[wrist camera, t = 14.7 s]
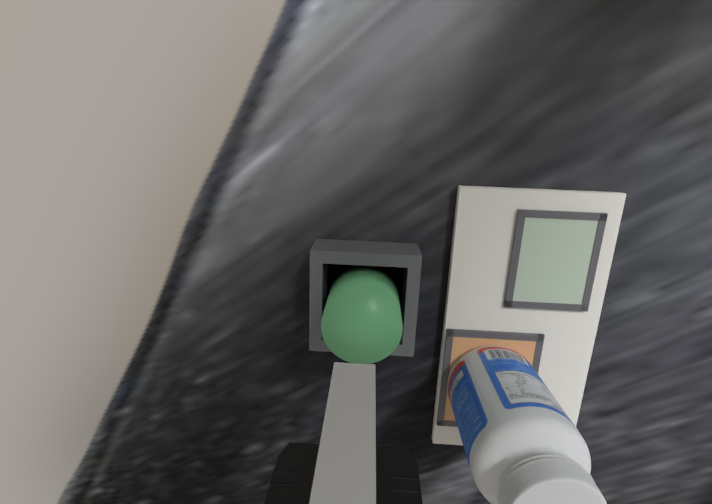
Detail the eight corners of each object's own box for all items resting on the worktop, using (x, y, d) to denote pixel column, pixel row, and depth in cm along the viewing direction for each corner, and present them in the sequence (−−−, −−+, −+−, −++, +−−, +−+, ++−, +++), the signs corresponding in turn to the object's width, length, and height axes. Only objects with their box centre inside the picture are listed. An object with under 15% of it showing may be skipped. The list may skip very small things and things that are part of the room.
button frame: (316, 238, 25) (309, 250, 22) (417, 243, 24) (422, 255, 22) (315, 330, 26) (309, 350, 24) (410, 335, 26) (413, 356, 24)
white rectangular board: (457, 185, 23) (460, 187, 23) (620, 192, 23) (629, 194, 22) (431, 437, 28) (433, 446, 27) (566, 445, 28) (571, 455, 27)
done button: (329, 264, 23) (321, 287, 20) (401, 267, 23) (405, 291, 20) (328, 329, 24) (320, 361, 21) (396, 333, 24) (400, 366, 21)
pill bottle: (476, 432, 27) (529, 592, 18) (429, 372, 26) (459, 508, 16) (551, 389, 26) (651, 536, 16) (505, 325, 25) (584, 442, 15)
